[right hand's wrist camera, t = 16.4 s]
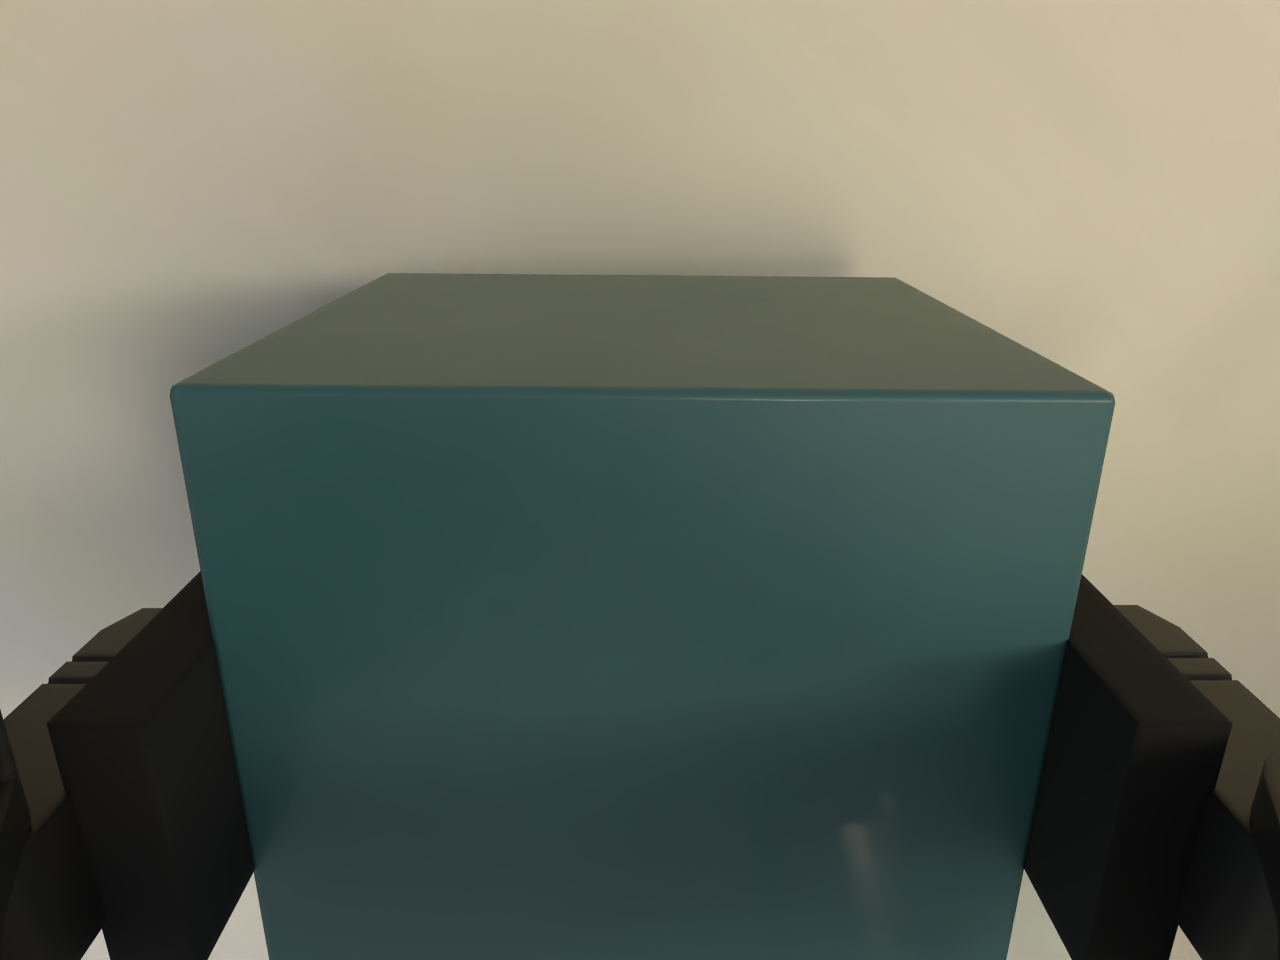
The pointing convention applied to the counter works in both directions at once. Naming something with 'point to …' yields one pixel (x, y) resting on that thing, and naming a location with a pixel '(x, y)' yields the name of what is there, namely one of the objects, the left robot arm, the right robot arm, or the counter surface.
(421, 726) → the cap block
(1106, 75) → the counter surface
